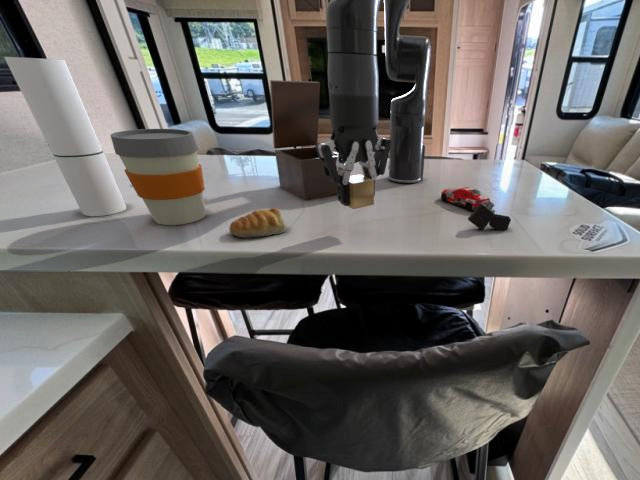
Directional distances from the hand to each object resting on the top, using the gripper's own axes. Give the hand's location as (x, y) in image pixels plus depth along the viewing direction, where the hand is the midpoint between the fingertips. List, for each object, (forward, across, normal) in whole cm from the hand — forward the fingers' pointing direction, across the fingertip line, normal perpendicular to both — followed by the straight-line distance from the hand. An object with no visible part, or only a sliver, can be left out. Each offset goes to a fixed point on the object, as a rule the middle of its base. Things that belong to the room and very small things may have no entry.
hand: (357, 201), depth 61 cm
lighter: (+6, +23, -13) cm, 27 cm away
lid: (-10, +7, +34) cm, 36 cm away
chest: (+6, +7, +30) cm, 31 cm away
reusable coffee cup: (+6, -24, +27) cm, 37 cm away
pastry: (+6, -14, +11) cm, 19 cm away
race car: (+6, +31, 0) cm, 31 cm away
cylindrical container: (+6, -35, +39) cm, 53 cm away
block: (0, 0, 0) cm, 0 cm away
